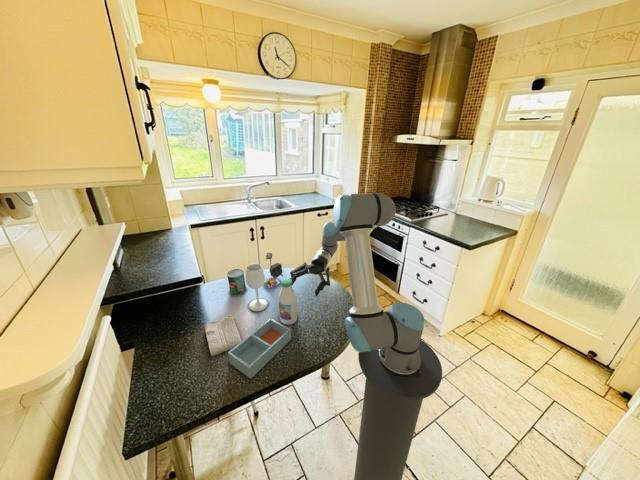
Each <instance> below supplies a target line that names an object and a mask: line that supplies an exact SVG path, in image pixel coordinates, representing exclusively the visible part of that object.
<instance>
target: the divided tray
mask: <svg viewBox="0 0 640 480" xmlns="http://www.w3.org/2000/svg"><path fill="white" fill-rule="evenodd" d="M291 340H292V329H291V328H289V327H288V326H286V325H285V324H283V323H280V322H279V321H277V320H275V319H273V318H271V317H269V319H268V320H266V321H265V322H264V323H262V324H261V325H260V326H259V327H258V328H256V329H255V330H254V331H252V332H251V333H250V334H249V335H247V336H246V337H245V338H244V339H243V340H241V342H240V343H239V344H238V345H236V346H235V347H234V348H233V349H231V350H228V352H227V356H228V362H229V364H230V365H231V366H232V367H234V368H235V369H237V370H238V371H240V373H242V374H244V375H245V376H246V377H247V378H249V379H250V380H252V379H253V378H254V377H255V375H257V374H258V373H259V372H260V371H261V369H263V368H264V367H265V366H266V365H267V364H268V363H269V362H270V361H271V360H272V359H273V358H274V357H275V356H276V355H277V354H278V353H279V352H280V351H281V350H282V349H283V348H284V347H286V345H288V343H289V342H290V341H291Z"/></svg>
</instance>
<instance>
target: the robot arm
mask: <svg viewBox="0 0 640 480" xmlns="http://www.w3.org/2000/svg"><path fill="white" fill-rule="evenodd" d="M396 211H397V210H396V204H395V202H394V200H393V199H392V198H391V197H390V196H389V195H387V194H385V193H381V192H370V193H369V192H368V193H365V192H364V193H348V194H341V195H339V196H338V197H337V198H336V199H335V202H334V204H333V212H332V219H333V220H332V221H329V222H328V221H327V222H326V223H325V224H324V225H323V228H322V239H321V247H320V248H319V250H318V251H317V252H316V254H315V256H314V257H313V258H312V259H311V262H310V263H309V264H308V263H307V262H306V261H305V262H303V263H302V264H301V265H299V266H298V267H296V268H294V269H293V270H291V271H289V273H290V278H289V279H291V280H292V286H294V284H295V283H296V281H297V278H300V277H303V276H305V275H309V274H311V275H315V276H317V275H318V277H319V279H320V282H319V284H318V285H317V287H316V289H315V290H314V295H315V297H318V296H319V294H320V292H321V291H323V290H324V289H325V287H326V286H327V287H330V286H331V279H330V273H331V268H330V267H327V266H328V265H329V263H330V261H331V260H332V258H333V256H334V254H335V253H336V252H337V250H338V248H339V244H338V242H345V248H346V249H345V250H346V257H347V265H348V274H349V282H350V284H349V285H350V292H351V299H352V307H351V308H350V309H349V316H347V317H346V318H345V319H344V327H345V331H346V335H347V338H348V340H349V343H350V345H351V346H352V348H353V349H354V351H356V352H357V353H359V352H367V351H368V352H370V351H373V350H378V349H379V360H380V362H381V364H382V365H383V367H384V368H385V369H386V370H388V371H389V372H391V373H393V374H395V375H398V376H412V375H414V374H415V373H418V375H419V376H420V375H421V374H420V372H419V371H418V370H419V368H420V364H421V358H420V353H419V344H420V340H422V335H423V331H424V328H425V316H424V314H423V313H422V312H421V310H420V309H419V308H418V307H417V306H415V305H413V304H411V303H407V302H403V301H400V302H399V301H397V302H394V303H392V304H391V305H390V307H389V310H386V311H384V307H383V306H381V305H380V304H379V301H378V294H377V293H378V292H377V284H376V276H375V268H374V261H373V253H372V245H371V238H370V237H371V236H370V235H371V233H372V232H373V230H374V229H376V228H377V227H384V226H386V225H387V224H389V223H390V222H392V221H393V219H394V218H395V216H396ZM323 273H325V274H326V279H325V277H324V275H323Z"/></svg>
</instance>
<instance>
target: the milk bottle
mask: <svg viewBox="0 0 640 480" xmlns="http://www.w3.org/2000/svg"><path fill="white" fill-rule="evenodd" d="M280 287H281V289H280V292H279V294H278V312H279V313H278V314H279V320H280V322H281V324H282V325H294V324H295V323H296V322H297V320H298V301H297V295H296V292H295V290H294V288H293V285H292V280H291V279H290V278H283V279H281V281H280Z"/></svg>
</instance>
